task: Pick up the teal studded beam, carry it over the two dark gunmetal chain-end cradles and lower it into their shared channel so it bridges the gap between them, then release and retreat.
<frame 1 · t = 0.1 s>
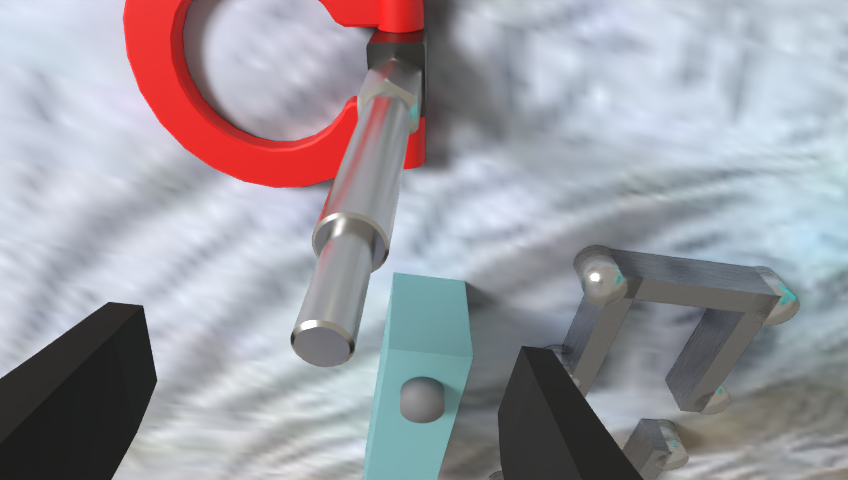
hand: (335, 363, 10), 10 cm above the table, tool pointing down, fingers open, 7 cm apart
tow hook: (285, 57, 17), on the table
teal studded beam: (409, 371, 25), on the table
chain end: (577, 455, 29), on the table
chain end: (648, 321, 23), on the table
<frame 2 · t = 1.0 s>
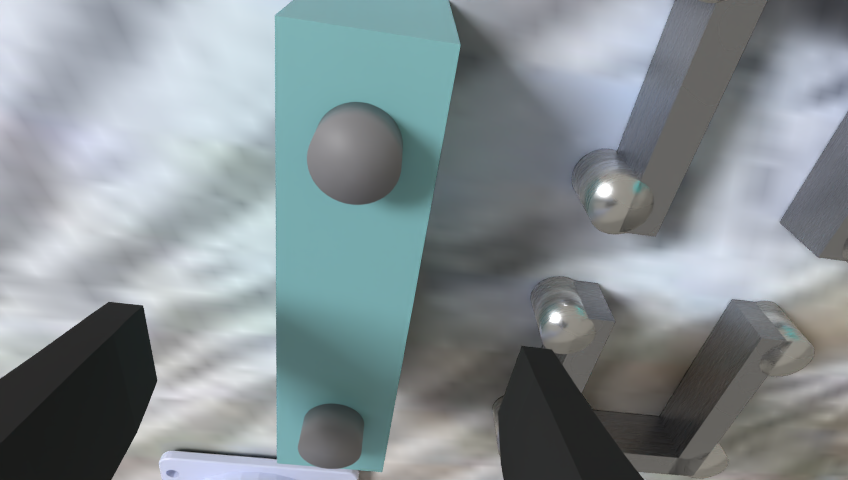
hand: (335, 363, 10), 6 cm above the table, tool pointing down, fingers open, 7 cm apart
teal studded beam: (362, 209, 15), on the table
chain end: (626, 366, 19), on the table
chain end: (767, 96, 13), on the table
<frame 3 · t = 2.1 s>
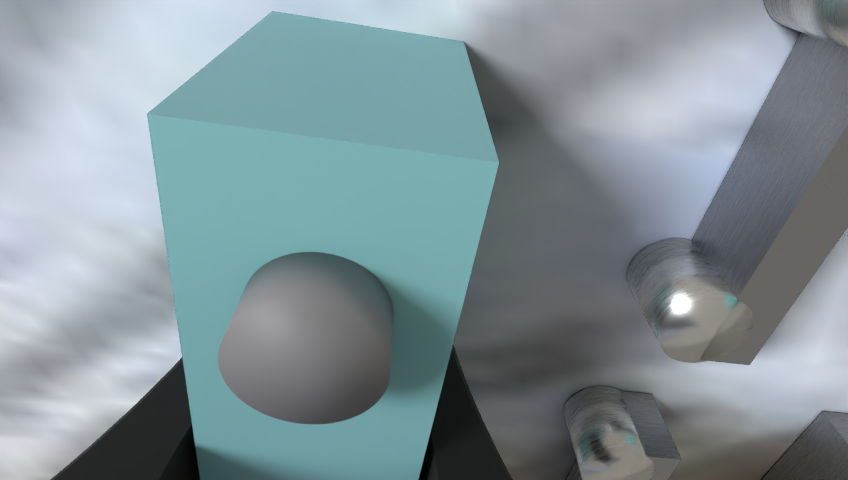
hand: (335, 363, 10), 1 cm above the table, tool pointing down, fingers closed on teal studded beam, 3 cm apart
teal studded beam: (344, 311, 12), on the table, touching gripper
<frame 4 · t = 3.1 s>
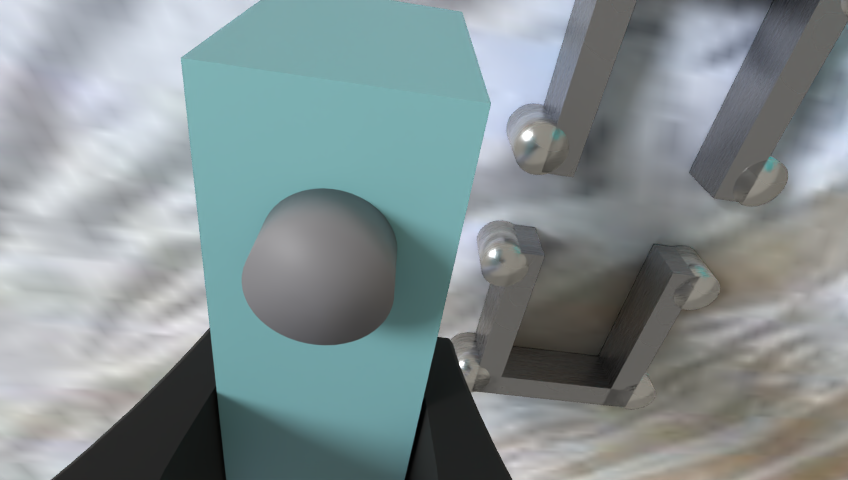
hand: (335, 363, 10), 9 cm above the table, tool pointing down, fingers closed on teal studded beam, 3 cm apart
teal studded beam: (349, 275, 12), point 6 cm above the table, touching gripper
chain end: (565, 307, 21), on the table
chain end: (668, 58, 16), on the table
when the fingers open (3 cm above the table, at t = 4.8 s): teal studded beam stays where it is, on the table.
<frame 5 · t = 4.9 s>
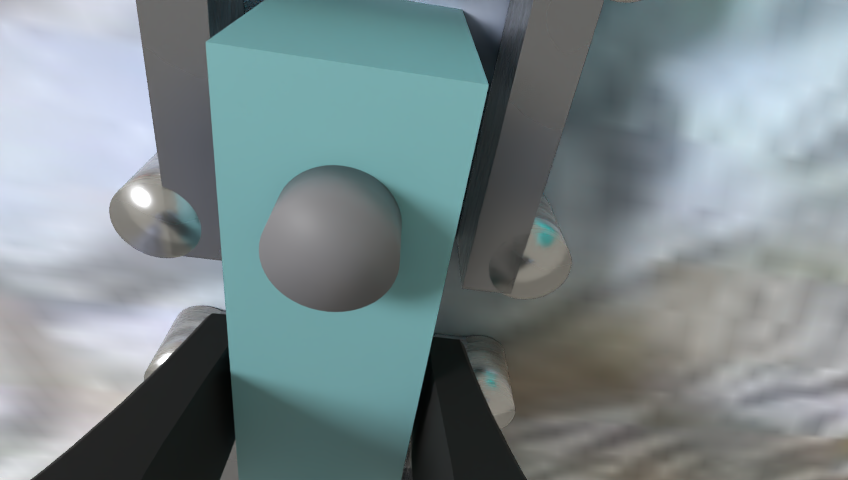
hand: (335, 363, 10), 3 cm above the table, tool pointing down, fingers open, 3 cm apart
teal studded beam: (352, 263, 13), on the table
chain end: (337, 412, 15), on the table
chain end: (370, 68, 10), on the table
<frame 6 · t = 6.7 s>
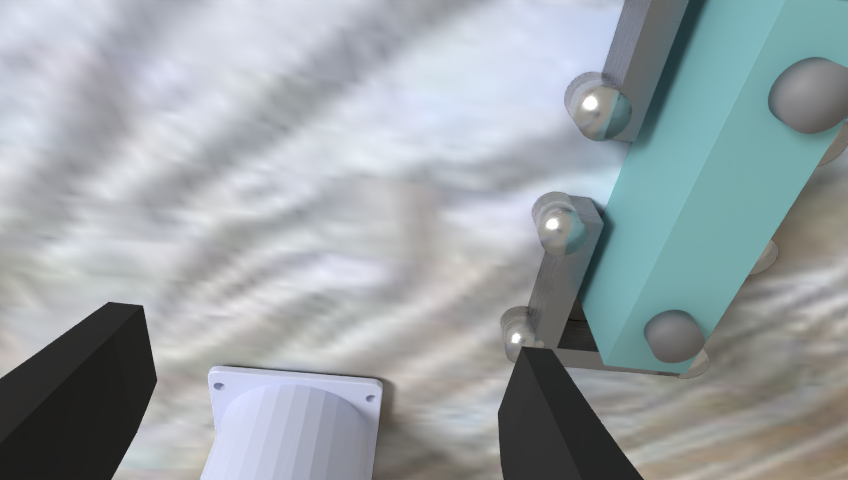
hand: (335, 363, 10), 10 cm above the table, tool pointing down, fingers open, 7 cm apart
teal studded beam: (665, 159, 19), on the table
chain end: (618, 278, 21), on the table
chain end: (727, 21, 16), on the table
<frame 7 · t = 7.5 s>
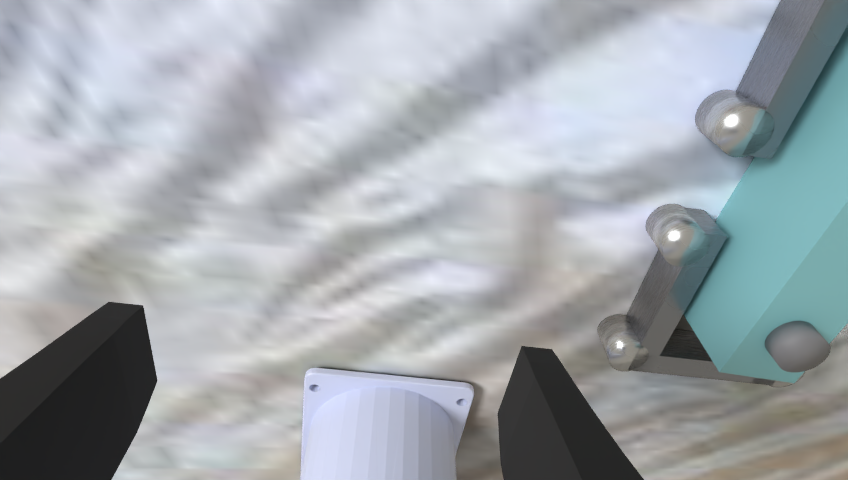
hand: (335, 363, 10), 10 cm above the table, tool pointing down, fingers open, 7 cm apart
teal studded beam: (781, 174, 19), on the table
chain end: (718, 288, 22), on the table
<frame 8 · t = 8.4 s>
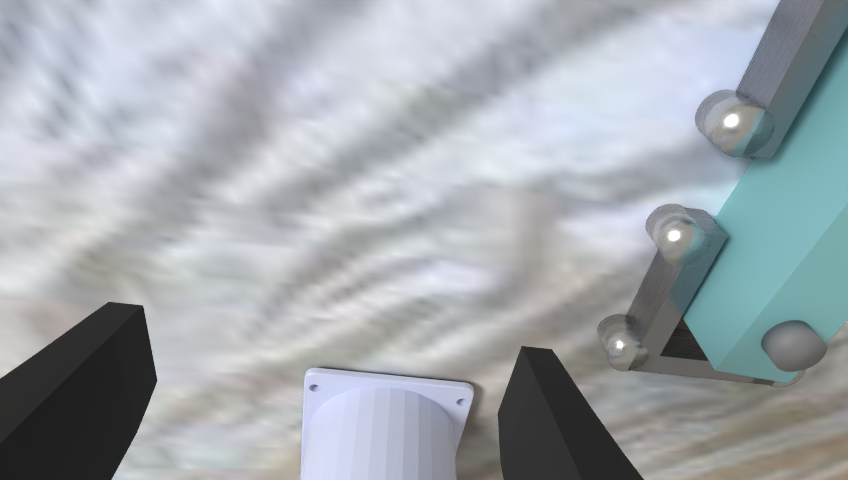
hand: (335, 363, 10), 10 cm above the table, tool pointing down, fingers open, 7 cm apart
teal studded beam: (781, 174, 19), on the table
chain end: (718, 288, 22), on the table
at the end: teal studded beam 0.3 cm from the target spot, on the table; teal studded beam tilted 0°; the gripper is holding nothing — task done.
